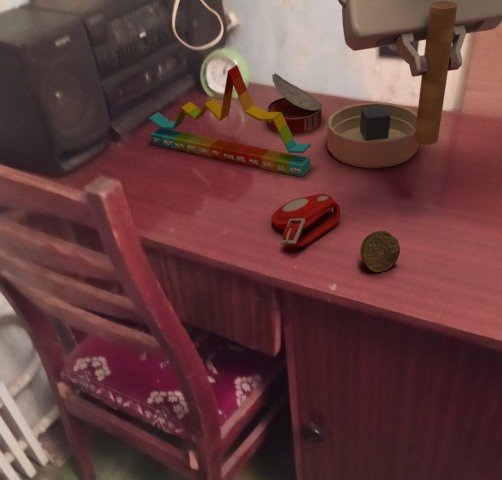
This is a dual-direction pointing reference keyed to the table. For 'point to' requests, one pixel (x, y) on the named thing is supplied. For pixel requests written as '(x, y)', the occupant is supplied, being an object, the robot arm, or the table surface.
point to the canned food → (295, 108)
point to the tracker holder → (305, 218)
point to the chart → (230, 149)
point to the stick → (435, 71)
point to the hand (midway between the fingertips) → (437, 71)
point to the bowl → (372, 151)
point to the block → (375, 123)
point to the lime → (380, 251)
